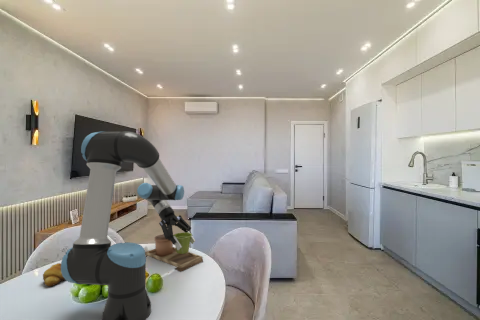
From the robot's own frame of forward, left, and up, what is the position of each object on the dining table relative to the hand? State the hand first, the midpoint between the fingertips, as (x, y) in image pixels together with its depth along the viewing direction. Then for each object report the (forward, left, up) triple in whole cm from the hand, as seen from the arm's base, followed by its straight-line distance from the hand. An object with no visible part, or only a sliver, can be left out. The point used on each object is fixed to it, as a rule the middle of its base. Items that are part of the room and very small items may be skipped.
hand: (187, 245), depth 127 cm
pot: (+18, +1, -8) cm, 20 cm away
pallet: (+10, +1, -9) cm, 14 cm away
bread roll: (+33, +46, -10) cm, 57 cm away
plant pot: (+3, 0, -4) cm, 5 cm away
